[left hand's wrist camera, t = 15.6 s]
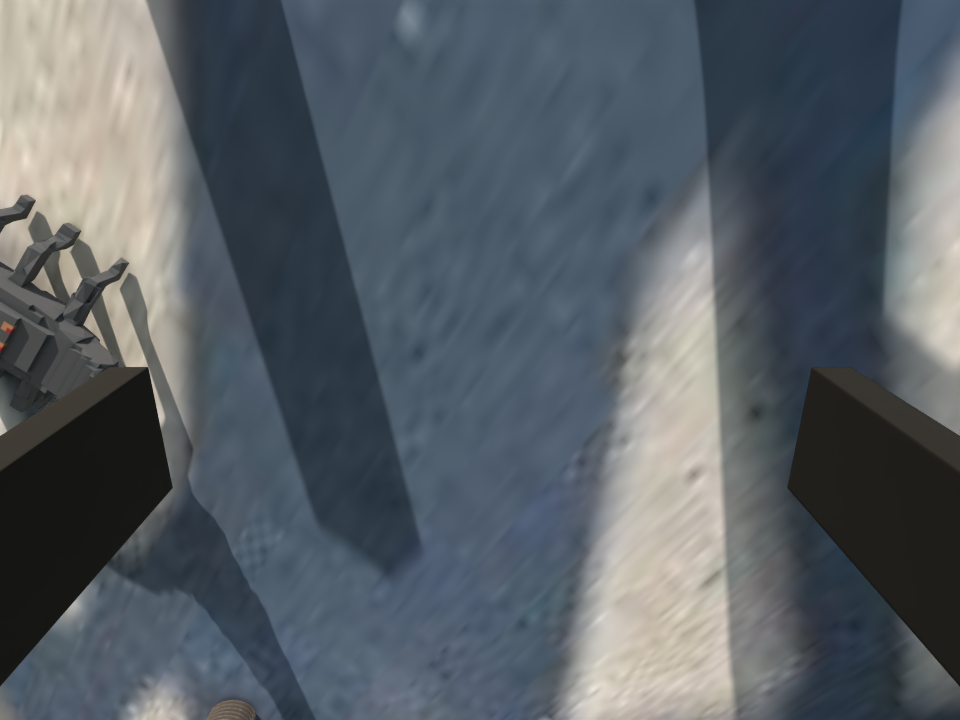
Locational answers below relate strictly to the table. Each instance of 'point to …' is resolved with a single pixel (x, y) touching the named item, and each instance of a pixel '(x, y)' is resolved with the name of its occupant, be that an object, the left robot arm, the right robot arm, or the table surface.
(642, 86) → the table surface
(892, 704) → the table surface
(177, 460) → the table surface
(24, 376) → the toy
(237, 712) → the light bulb
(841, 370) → the left robot arm
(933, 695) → the table surface
